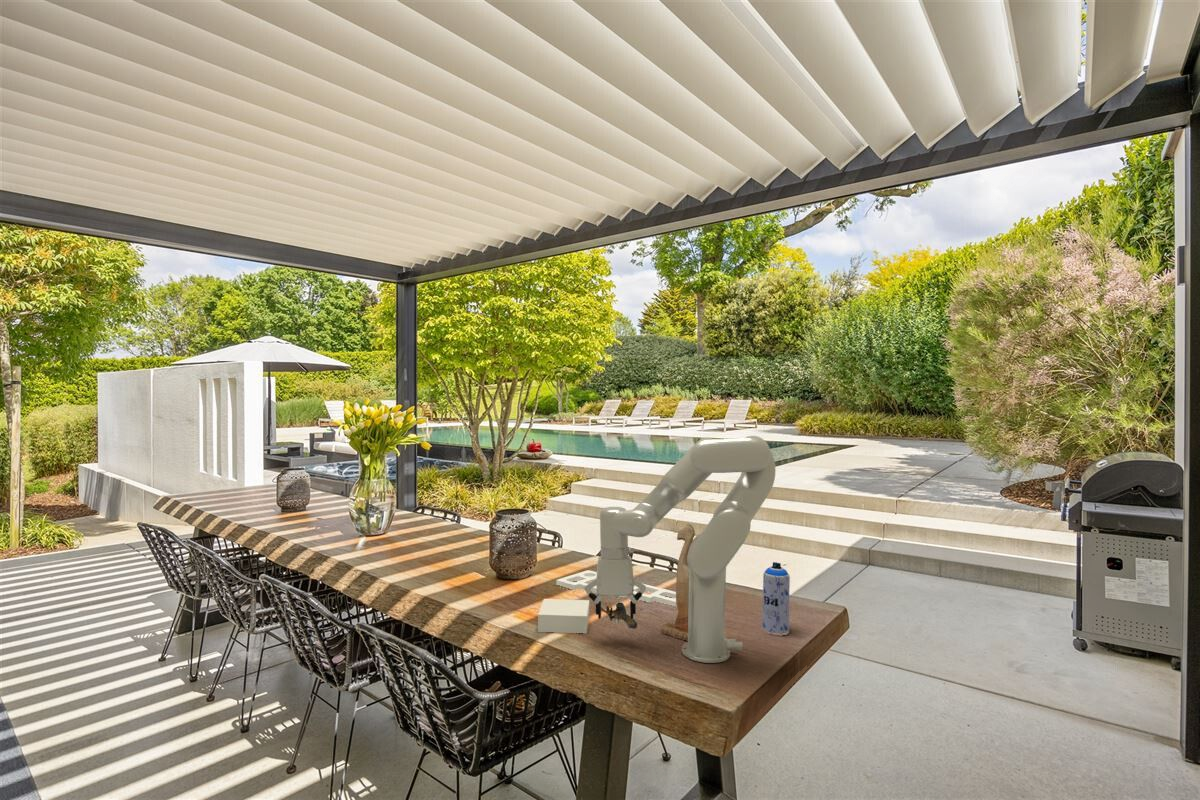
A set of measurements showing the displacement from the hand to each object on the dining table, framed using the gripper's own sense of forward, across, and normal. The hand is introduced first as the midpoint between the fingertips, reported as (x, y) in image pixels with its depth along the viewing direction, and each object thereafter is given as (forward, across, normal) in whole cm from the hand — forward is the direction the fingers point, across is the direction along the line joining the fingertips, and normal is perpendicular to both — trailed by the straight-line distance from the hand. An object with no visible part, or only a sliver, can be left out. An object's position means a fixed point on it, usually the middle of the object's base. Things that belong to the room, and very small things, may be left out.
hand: (615, 616), depth 165 cm
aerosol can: (+10, -46, -13) cm, 49 cm away
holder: (+8, -2, -44) cm, 44 cm away
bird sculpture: (+8, -20, -9) cm, 24 cm away
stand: (+7, +15, -13) cm, 21 cm away
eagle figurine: (+2, -1, +1) cm, 3 cm away
